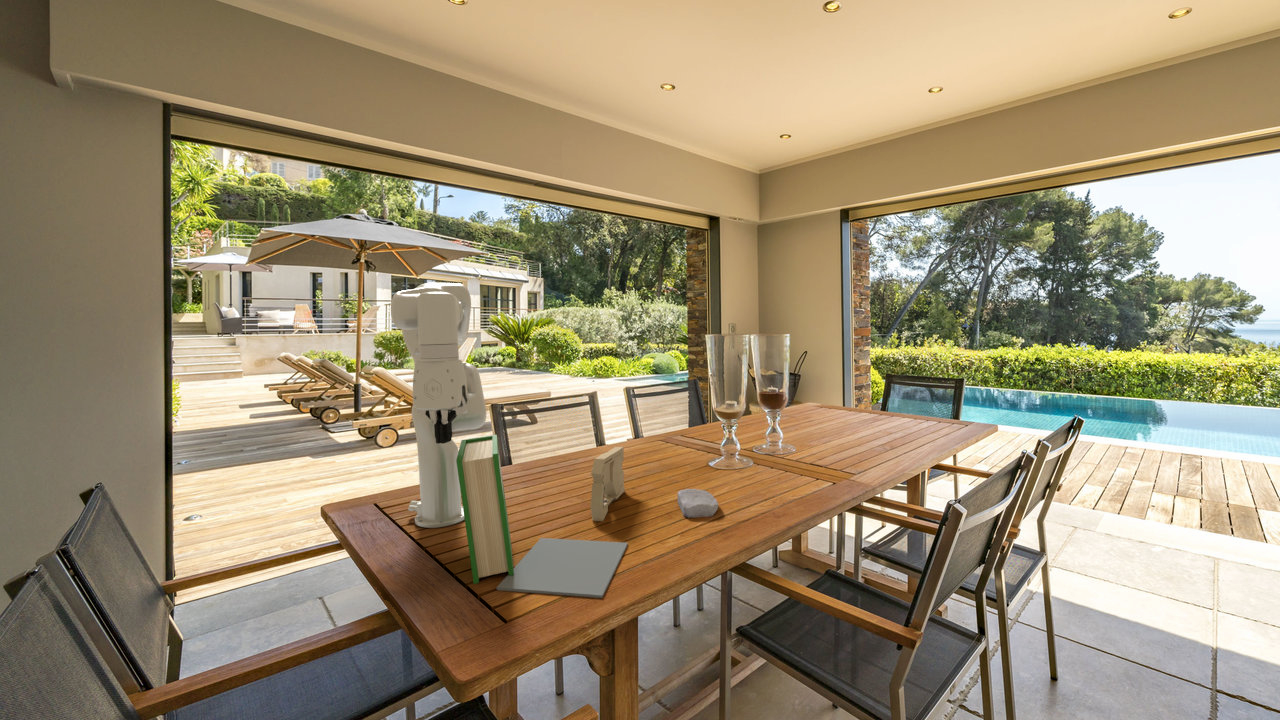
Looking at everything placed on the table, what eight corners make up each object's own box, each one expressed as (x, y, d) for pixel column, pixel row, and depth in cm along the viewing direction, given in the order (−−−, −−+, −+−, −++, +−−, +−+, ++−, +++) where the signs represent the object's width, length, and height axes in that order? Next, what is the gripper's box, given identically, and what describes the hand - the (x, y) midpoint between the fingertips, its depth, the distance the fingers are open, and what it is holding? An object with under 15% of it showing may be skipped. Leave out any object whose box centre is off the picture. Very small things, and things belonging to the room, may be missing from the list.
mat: (496, 589, 95) (496, 587, 95) (541, 540, 116) (540, 537, 116) (602, 598, 91) (602, 595, 91) (627, 544, 113) (627, 542, 113)
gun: (602, 523, 125) (601, 461, 125) (589, 522, 126) (588, 461, 126) (625, 498, 149) (624, 446, 149) (614, 498, 150) (613, 446, 150)
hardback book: (513, 574, 99) (497, 453, 97) (473, 584, 97) (456, 460, 95) (510, 538, 116) (496, 434, 114) (476, 545, 114) (461, 440, 112)
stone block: (709, 507, 140) (673, 502, 139) (713, 490, 140) (677, 485, 138) (720, 525, 128) (681, 520, 127) (724, 507, 128) (685, 501, 127)
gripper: (394, 355, 103) (399, 445, 104) (463, 353, 100) (468, 446, 101) (417, 353, 110) (421, 438, 111) (482, 351, 108) (486, 438, 109)
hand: (443, 442), depth 106 cm, fingers closed
